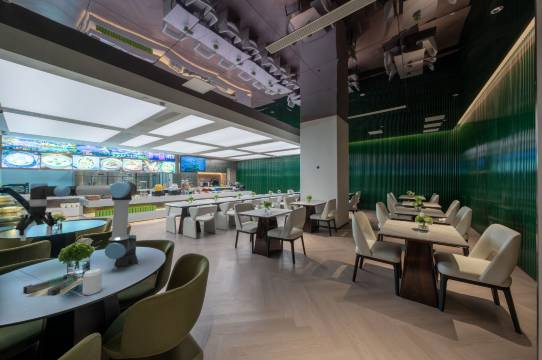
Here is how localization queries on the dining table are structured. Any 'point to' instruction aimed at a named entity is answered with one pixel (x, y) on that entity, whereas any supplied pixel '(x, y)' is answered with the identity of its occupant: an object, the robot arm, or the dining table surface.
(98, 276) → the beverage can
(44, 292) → the board
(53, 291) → the teal-banded grey bar
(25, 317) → the dining table surface
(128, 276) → the dining table surface
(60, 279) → the tongs arm
